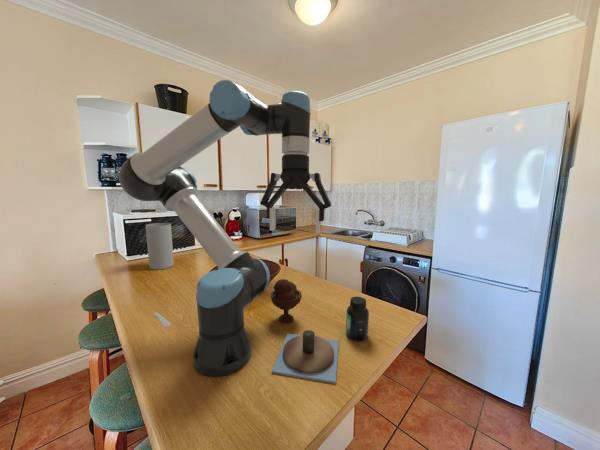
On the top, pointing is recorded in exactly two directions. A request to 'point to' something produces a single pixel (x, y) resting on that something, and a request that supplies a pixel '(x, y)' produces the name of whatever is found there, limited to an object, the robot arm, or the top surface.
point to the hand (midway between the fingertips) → (294, 231)
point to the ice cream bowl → (285, 298)
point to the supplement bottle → (357, 319)
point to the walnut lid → (308, 353)
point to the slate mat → (323, 376)
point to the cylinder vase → (159, 246)
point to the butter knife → (163, 320)
